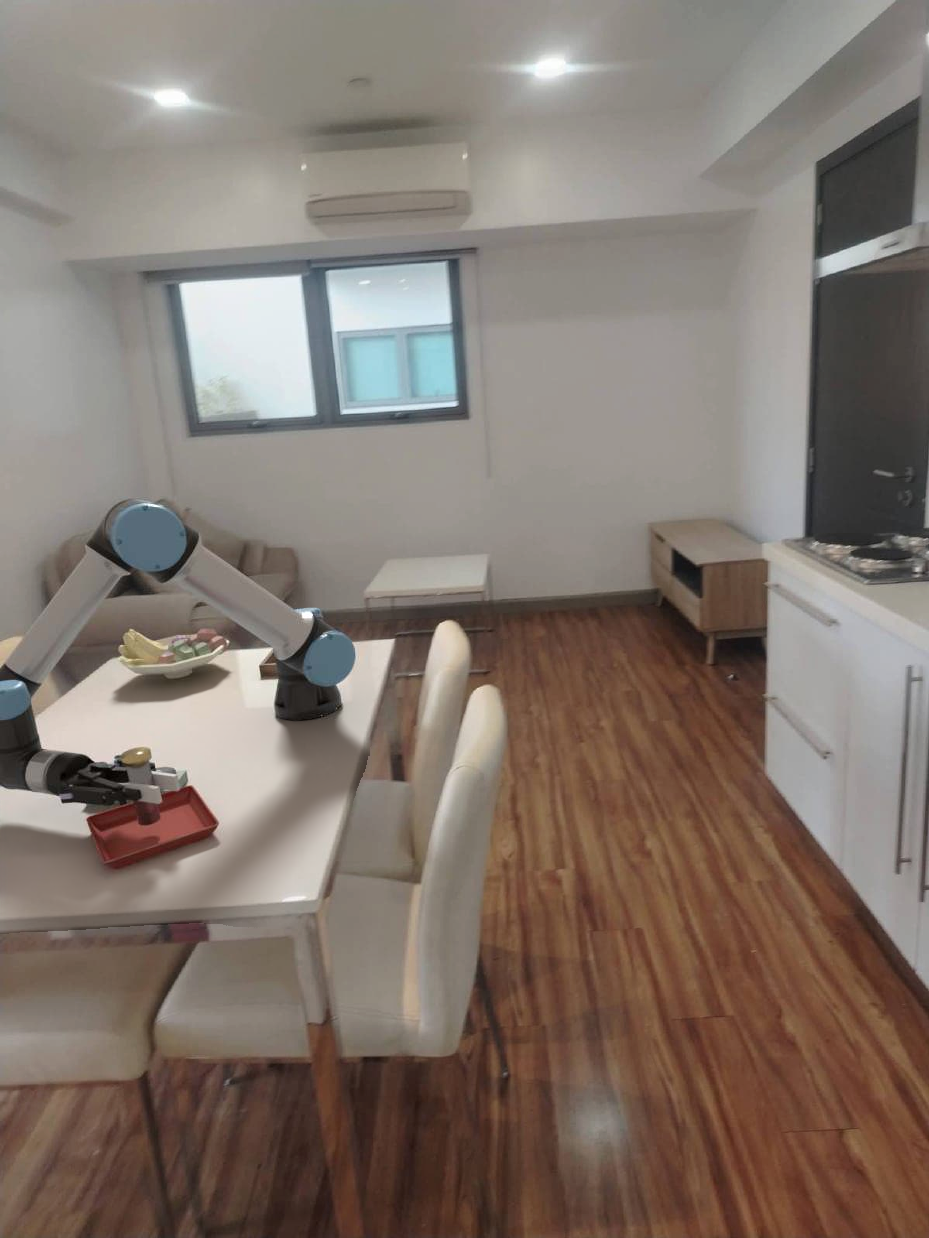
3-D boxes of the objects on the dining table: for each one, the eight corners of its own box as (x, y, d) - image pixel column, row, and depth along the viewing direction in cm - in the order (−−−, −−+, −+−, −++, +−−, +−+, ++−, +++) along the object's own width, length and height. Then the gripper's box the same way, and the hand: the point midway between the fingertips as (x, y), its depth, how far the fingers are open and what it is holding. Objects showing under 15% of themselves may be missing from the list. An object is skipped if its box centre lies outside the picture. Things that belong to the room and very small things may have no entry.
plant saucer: (194, 798, 145) (191, 782, 144) (223, 840, 131) (220, 822, 130) (89, 833, 136) (84, 816, 135) (107, 882, 122) (102, 863, 121)
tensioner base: (188, 779, 151) (184, 761, 150) (172, 800, 144) (168, 781, 143) (106, 784, 152) (102, 766, 151) (86, 805, 145) (81, 786, 144)
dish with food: (102, 678, 212) (93, 628, 208) (195, 649, 233) (189, 603, 228) (156, 704, 195) (148, 650, 191) (252, 670, 215) (246, 620, 211)
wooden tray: (334, 650, 223) (333, 640, 222) (321, 672, 205) (319, 661, 205) (278, 654, 224) (276, 644, 223) (260, 676, 206) (258, 665, 205)
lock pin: (168, 812, 135) (155, 746, 131) (157, 826, 130) (143, 758, 127) (141, 813, 135) (127, 747, 131) (129, 827, 130) (115, 760, 127)
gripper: (103, 771, 146) (205, 785, 137) (26, 817, 131) (135, 836, 122) (95, 734, 144) (198, 746, 135) (15, 776, 129) (125, 792, 120)
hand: (168, 788), depth 129 cm, fingers closed on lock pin, 3 cm apart
